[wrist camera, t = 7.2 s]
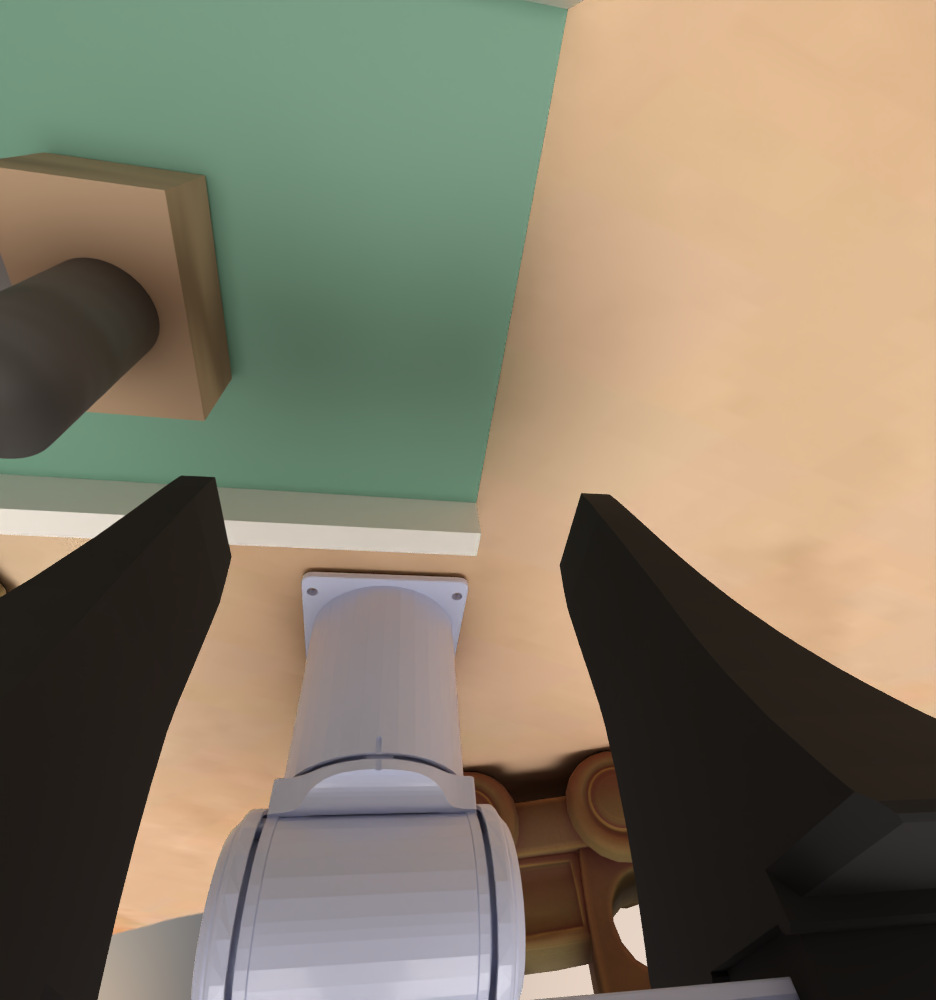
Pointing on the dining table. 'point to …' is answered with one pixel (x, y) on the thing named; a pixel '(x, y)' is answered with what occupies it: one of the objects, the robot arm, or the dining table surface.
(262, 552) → the dining table surface
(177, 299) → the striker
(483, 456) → the pitch
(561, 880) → the wooden toy train
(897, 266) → the dining table surface
